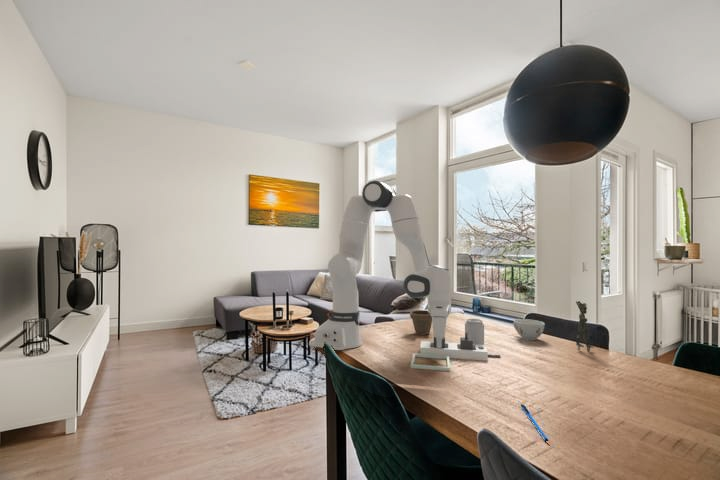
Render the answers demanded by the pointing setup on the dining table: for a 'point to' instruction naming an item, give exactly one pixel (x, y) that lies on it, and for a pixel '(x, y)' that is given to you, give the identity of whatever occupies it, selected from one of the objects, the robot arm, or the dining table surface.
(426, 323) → the flower pot
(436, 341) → the dark grey block
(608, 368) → the dining table surface
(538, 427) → the pen
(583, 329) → the statue
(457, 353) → the white power strip
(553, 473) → the dining table surface
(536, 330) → the teacup
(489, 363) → the dining table surface
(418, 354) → the tray
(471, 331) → the can
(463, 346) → the twin plug
